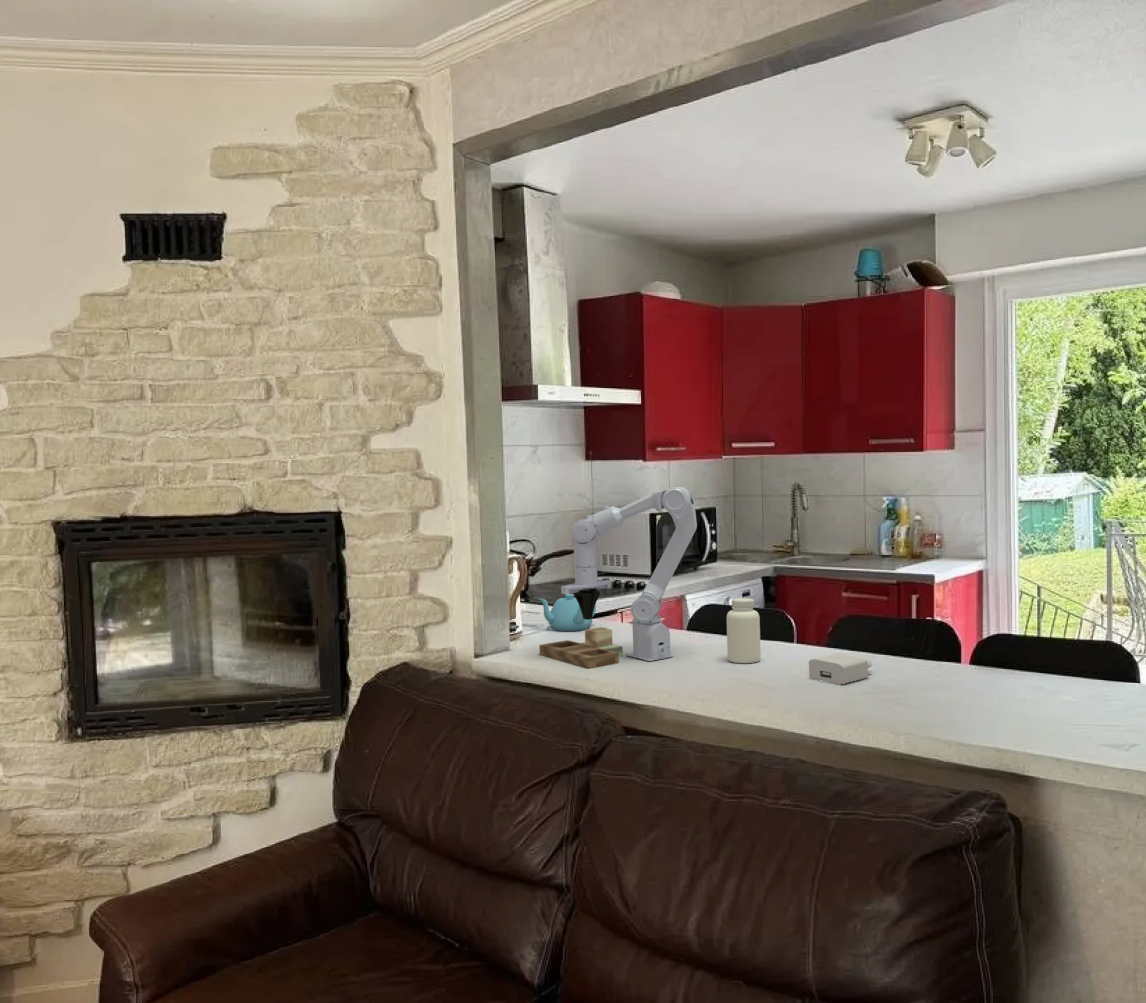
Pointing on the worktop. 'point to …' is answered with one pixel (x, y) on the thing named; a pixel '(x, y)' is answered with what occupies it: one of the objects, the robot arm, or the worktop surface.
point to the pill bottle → (743, 632)
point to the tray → (582, 653)
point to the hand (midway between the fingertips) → (587, 619)
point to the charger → (839, 668)
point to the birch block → (598, 637)
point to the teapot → (566, 614)
